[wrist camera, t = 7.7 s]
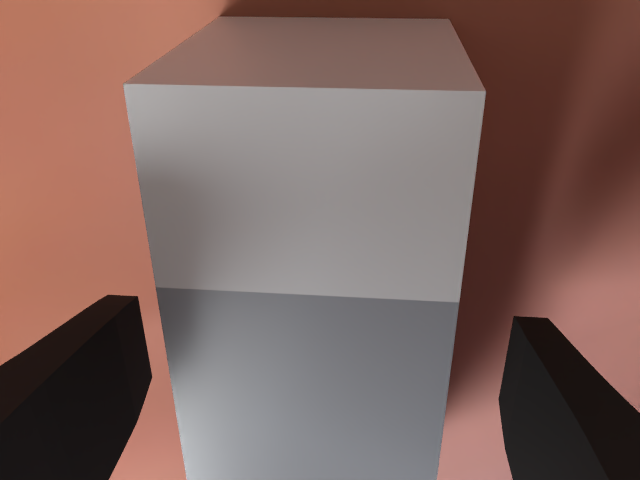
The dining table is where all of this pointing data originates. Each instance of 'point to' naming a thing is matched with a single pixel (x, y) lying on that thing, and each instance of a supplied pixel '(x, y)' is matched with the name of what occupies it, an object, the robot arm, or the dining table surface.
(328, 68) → the box
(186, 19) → the dining table surface
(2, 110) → the dining table surface
